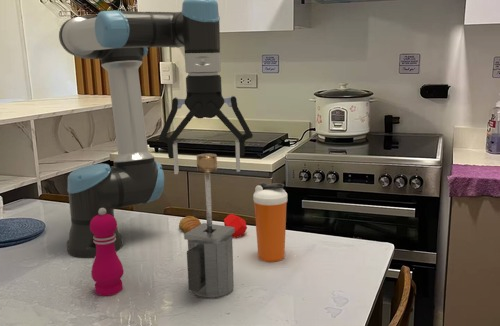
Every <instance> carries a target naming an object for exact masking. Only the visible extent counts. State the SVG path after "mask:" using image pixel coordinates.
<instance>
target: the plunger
mask: <svg viewBox="0 0 500 326" xmlns="http://www.w3.org/2000/svg"><path fill="white" fill-rule="evenodd" d="M217 170H218V157H217V154H216V153H201V154H196V171H197V172H200V173H204V187H205V188H204V189H205V192H204V193H205V208H206V209H205V210H206V212H205V214H206V223H207V232H208V233H212V224H213V217H212V216H213V211H212V209H213V208H212V187H211V186H212V185H211V172H216V171H217Z"/></svg>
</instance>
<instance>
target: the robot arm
mask: <svg viewBox="0 0 500 326" xmlns="http://www.w3.org/2000/svg"><path fill="white" fill-rule="evenodd" d="M220 18H221V17H220V14H219V3H218V1H217V0H183V2H182V6H181V11H131V10H129V11H127V10H125V11H123V10H117V9H116V10H115V9H114V10H103V11H102V10H101V11H99V12H98V13H97V15H95V16H94V15H80V16H77V17H76V16H75V17H71V18H69V19H67V20H66V21H64V22H63V23H62V25H61V26H60V28H59V31H58V40H59V43H60V45H61V47H62V48H63V49H64V50H65V51H66V52H67V53H68V54H70V55H72V56H74V57H78V58H81V59H87V60H100V65H101V68H102V69H104V70H106V71H107V77H108V84H109V93H110V100H111V101H110V102H111V108H112V116H113V124H114V125H113V126H114V130H115V140H116V146H117V147H116V148H117V156H116V157H115V159H114V160H113V166H114V167H111V166H110V164H108V163H97V164H96V163H95V164H89V165H88V164H87V165H85V166H81V167H79V168H75V169H74V170H72V171H71V172H70V173H69V174H68V176H67V193H68V202H69V203H68V204H69V212H70V222H71V223H70V229H69V234H68V235H69V236H68V240H67V241H66V250H67V253H68V254H69V255H70V256H73V257H78V258H95V257H96V244H95V243H94V242H93V241H94V239H93V236H94V234H93V233H92V232H91V230H90V222H91V220H92V218H94V217H95V216H96V215H99V213H98V211H99V209H100V208H105V209H106V214H110V215H112V216H113V217H114V218H115V209H116V210H117V209H120V208H121V209H122V208H125V207H131V206H136V205H141V204H142V205H143V204H144V205H145V204H148V203H150V202H154V201H155V202H156V201H157V200H158V199H160V197H161V196H162V194H163V191H164V188H165V173H164V169H163V166H162V164H161V163H160V162H159V161H157V160H156V161H155V155H153V153H151V152H150V151H149V148H148V147H149V146H148V141H147V132H146V125H145V115H144V114H145V113H144V108H143V107H144V106H143V99H142V91H141V90H142V89H141V84H140V83H141V82H140V73H139V68H140V67H141V66H142V64H143V58H145V57H146V56H147V55H148V53H149V52H148V51H149V49H148V48H173V49H174V48H177V49H178V48H182V47H183V48H184V64H185V65H184V67H185V70H184V71H185V73H186V74H188V75H187V76H186V77H185V86H186V87H185V88H186V89H185V90H186V92H185V93H186V97H185V98H178V97H176V96H175V97H173V99H172V100H171V109H170V111H169V114H168V116H167V119H166V121H165V123H164V125H163V127H162V130H161V131H160V134H159V137H158V141H159V142H163V143H165V144H166V145H167V155H168V158H169V159H173V170H174V171H173V172H174V173H173V174H174V175H178V174H179V172H180V171H179V154H178V153H179V152H178V142H175V141H176V139H177V138H178V136H180V134H181V133H182V132H183V131H184V129H185V128H186V127H187V125H188V124H189V123H190V121H191V120H192V119H193V118H194V117H195V118H196V119H204V118H206V119H213V118H214V117H217V118H218V119H219V120H220V121H221V122H222V123H223V124H224V126H226V128H228V130H229V131H230V132H231V133H232V135H234V137H235V138H237V139H238V140H235V141H234V143H235V169H236V172H237V173H238V172H241V157H243V156H245V152H246V149H245V145H246V144H245V142H246V141H247V140H249V139H252V138H253V136H254V135H253V133H252V131H251V129H250V127H249V126H248V124H247V122H246V120H245V118H244V116H243V114H242V112H241V110H240V108H239V107H238V100H237V97H236V96H235V95H231V96H227V97H223V92H222V91H223V90H222V89H223V88H222V77H221V75H220V74H219V73H220V72H221V71H222V66H221V50H220V49H221V41H220V40H221V35H220V34H221V33H220V30H221V29H220V28H221V27H220ZM224 104H226V105H227V106H228V107H229V108H232V111H233V113H234V115H235V116H236V118H237V120H238V122H239V124H240V126H241V128H242V130H243V131H244V133H242V132H240V131H239V129H238V128H237V127H236V126H235V125H234V124H233V123H232V121H230V119H229V118H228V117H227V116H226V115H225V114H224V113H223V112H222V110H221V109H222V108H223V106H224ZM183 105H185V107H186V108H187V109H188V111H189V112H188V113H187V114H186V115H185V117H183V120H182V121H181V122H180V123H179V124H178V126H177V127H176V128H175V130H174V131H173V132H172V133H171V135H170V136H168V132H169V130H170V128H171V126H172V124H173V121H174V119H175V117H176V114H177V113H178V109H179V110H180V109H182V107H183ZM114 233H115V234H116V236H115V237H116V240H115V241H114V246H115V251H116V252H118V251H119V250H120V249H121V248H123V236H122V234H121V233H120V232H119V228H118V226H117V229H116V231H115V232H114Z"/></svg>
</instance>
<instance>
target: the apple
mask: <svg viewBox="0 0 500 326" xmlns="http://www.w3.org/2000/svg"><path fill="white" fill-rule="evenodd" d="M223 226H229V227H235V232H234V233H233V234H232V238H233V237H234V238H239V237H243V236H244V235H245V233H246V232H247V230H248V226H247V222H246V220H245V219H244V218H242V217H240V216H238V215H235V214H232V213H230V214H227V216H226V217H225V218H223Z"/></svg>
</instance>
